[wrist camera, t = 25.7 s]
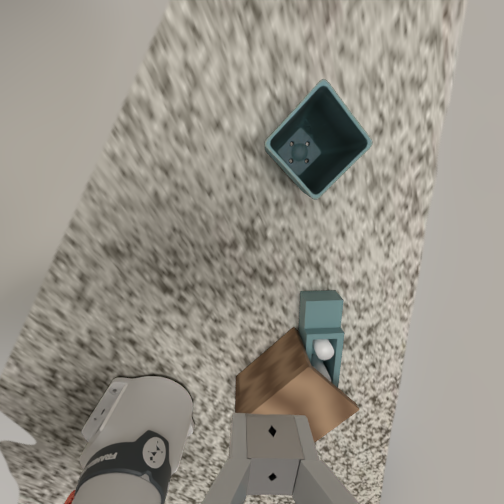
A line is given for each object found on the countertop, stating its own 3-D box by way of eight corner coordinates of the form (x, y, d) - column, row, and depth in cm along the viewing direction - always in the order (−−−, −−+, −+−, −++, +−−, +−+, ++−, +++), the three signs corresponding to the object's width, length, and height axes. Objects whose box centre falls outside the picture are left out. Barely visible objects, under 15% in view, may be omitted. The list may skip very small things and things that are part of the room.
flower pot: (341, 152, 34) (376, 143, 26) (297, 197, 36) (315, 202, 27) (301, 103, 32) (324, 75, 24) (256, 153, 34) (262, 143, 25)
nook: (278, 408, 48) (287, 462, 39) (235, 376, 45) (234, 426, 36) (335, 363, 45) (359, 409, 36) (293, 326, 42) (308, 366, 33)
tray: (327, 370, 46) (338, 395, 40) (296, 371, 45) (304, 397, 40) (334, 290, 41) (349, 306, 35) (300, 291, 40) (309, 308, 35)
